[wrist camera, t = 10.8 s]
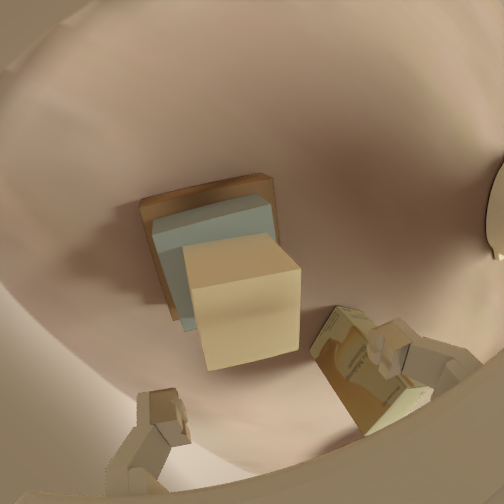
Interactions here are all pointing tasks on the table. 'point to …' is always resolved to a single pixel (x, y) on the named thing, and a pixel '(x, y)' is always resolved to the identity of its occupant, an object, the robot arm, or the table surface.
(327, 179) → the table surface
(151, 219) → the walnut base brick
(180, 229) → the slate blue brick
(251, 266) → the cream brick
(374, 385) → the skincare box
